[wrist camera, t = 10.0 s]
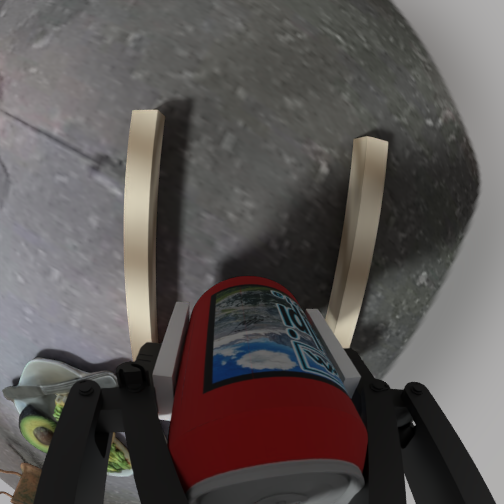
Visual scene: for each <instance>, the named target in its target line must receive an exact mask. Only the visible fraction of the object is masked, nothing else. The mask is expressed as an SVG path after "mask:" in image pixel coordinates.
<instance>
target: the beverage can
mask: <svg viewBox="0 0 504 504" xmlns="http://www.w3.org/2000/svg"><path fill="white" fill-rule="evenodd" d="M367 445H368V434H367V430H366V428H365V426H364V424H363V422H362V420H361V418H360V416H359V414H358V412H357V410H356V408H355V406H354V404H353V402H352V400H351V398H350V396H349V394H348V392H347V390H346V388H345V386H344V385H343V383H342V381H341V379H340V377H339V375H338V373H337V371H336V369H335V368H334V366H333V364H332V362H331V360H330V358H329V357H328V355H327V353H326V351H325V349H324V347H323V345H322V344H321V342H320V340H319V338H318V337H317V335H316V333H315V331H314V329H313V328H312V326H311V324H310V322H309V321H308V319H307V317H306V315H305V314H304V312H303V310H302V309H301V307H300V305H299V303H298V302H297V300H296V299H295V297H294V296H293V295H292V294H291V292H289V291H288V290H287V289H286V288H285V287H283V286H282V285H280V284H279V283H277V282H275V281H272V280H270V279H266V278H262V277H256V276H241V277H235V278H231V279H227V280H225V281H222V282H220V283H218V284H216V285H214V286H213V287H211V288H210V289H209V290H208V291H206V292H205V293H204V294H203V295H202V296H201V297H200V299H199V300H198V301H197V303H196V305H195V306H194V309H193V311H192V314H191V317H190V322H189V326H188V330H187V334H186V339H185V343H184V348H183V353H182V358H181V363H180V368H179V373H178V379H177V384H176V390H175V395H174V401H173V407H172V414H171V421H170V427H169V435H168V442H167V446H168V449H169V452H170V455H171V458H172V461H173V464H174V467H175V470H176V472H177V475H178V478H179V480H180V483H181V486H182V488H183V491H184V493H185V496H186V498H187V500H188V503H189V504H348V503H349V502H350V500H351V499H352V498H353V497H354V495H355V494H356V493H358V492H359V491H360V490H361V489H362V488H363V487H364V485H365V481H364V478H363V475H362V473H363V469H364V464H365V458H366V452H367Z"/></svg>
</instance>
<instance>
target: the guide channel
mask: <svg viewBox="0 0 504 504" xmlns="http://www.w3.org/2000/svg"><path fill="white" fill-rule="evenodd" d="M164 122H165V116H164V115H163V114H162V113H161V112H160V111H159V110H133V111H132V118H131V125H130V133H129V142H128V152H127V164H126V178H125V197H124V269H125V288H126V302H127V314H128V324H129V333H130V341H131V349H132V356H133V362H135V360H136V357H137V355H138V353H139V350H140V348H141V347H142V346H143V345H144V344H145V343H146V342H152V343H159V342H158V326H157V304H156V222H157V200H158V184H159V171H160V159H161V149H162V139H163V130H164ZM387 151H388V142H387V141H384V140H380V139H377V138H373V137H369V136H366V137H361V138H357V139H354V141H353V153H352V163H351V172H350V181H349V189H348V197H347V204H346V211H345V218H344V225H343V231H342V237H341V243H340V249H339V255H338V260H337V266H336V271H335V276H334V281H333V286H332V291H331V296H330V301H329V305H328V310H327V314H326V318H325V321H326V322H327V324H328V326H329V327H330V329H331V330H332V332H333V333H334V335H335V336H336V338H337V339H338V341H339V343H340V344H341V346H342V347H343V348H349V347H350V344H351V340H352V337H353V334H354V330H355V327H356V323H357V319H358V316H359V312H360V308H361V304H362V300H363V296H364V292H365V288H366V284H367V280H368V275H369V271H370V266H371V261H372V256H373V251H374V246H375V241H376V235H377V230H378V224H379V218H380V211H381V204H382V197H383V189H384V181H385V172H386V163H387Z"/></svg>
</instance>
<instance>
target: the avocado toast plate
mask: <svg viewBox="0 0 504 504" xmlns="http://www.w3.org/2000/svg"><path fill="white" fill-rule="evenodd" d="M83 379H90V380H93V381H95V382H97V383H98V384H99V386H100V387H101V388H113V387H118V382H117V377H116V374H115V373H113V372H111V371H99V372H93V373H88V372H85V371H82V370H79V369H77V368H74V367H72V366H70V365H68V364H66V363H64V362H61V361H55V360H51V359H44V358H41V357H37V358H35V359H34V360H31V361H29V362H28V364H27V365H26V366H25V368H24V370H23V373H22V375H21V377H20V381H19V384H18V385H17V386H9V387H7V388H5V389H3V390H2V391H3V394H4V397H5V398H6V399H7V400H11V401H12V402H14V404H15V406H16V408H17V410H18V412H19V414H20V416H19V428H20V431H21V433H22V435H23V437H24V438H25V439H26V440H27V441H28V442H29V443H30V444H31V445H33V446H34V447H35V448H37V449H39V450H41V451H42V452H44V453H47V452H48V449H49V445H50V442H51V439H52V437H53V434H54V431H55V428H56V425H57V423H58V420H59V417H60V414H61V412H62V409H63V407H64V404H65V402H66V399H67V397H68V394H69V392H70V389H71V387H72V386H73V384H74V383H76V382H77V381H79V380H83ZM55 394H56V395H58V396H56V395H55ZM163 434H164V433H163ZM164 437H165V435H164ZM165 440H166V437H165ZM166 443H167V440H166ZM107 475H112V476H119V477H125V476H130V475H133V470H132V466H131V461H130V457H129V452H128V450H127V448H126V447H125V446H124V445H123V444H122V443H121V442H120V441H119V440H118V439H117V438H115V432H114V433H113V437H112V443H111V449H110V455H109V461H108V468H107Z"/></svg>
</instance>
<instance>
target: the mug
mask: <svg viewBox="0 0 504 504" xmlns="http://www.w3.org/2000/svg"><path fill="white" fill-rule="evenodd" d="M20 466H21V470H22V475H21V474H19V473H17V472H13V471H4V470H1V469H0V472H3V473H11V474H16V475H18V476H20V477H21V478H20V480H19V483H18V485H17V488H16V490H15V492H14V495H13V496H11V495H10V494H8V493H6V492H0V494H1V493H4V494H7V495H8V496H10V497H11V498H12V499H11V502H12V503H13V504H33V503H34V499H35V494H36V490H37V486H38V483H39V479H40V475H41V472H42V470H41V469H39V468H37V467H35V466H33V465H30V464H28V463H21V465H20Z"/></svg>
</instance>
